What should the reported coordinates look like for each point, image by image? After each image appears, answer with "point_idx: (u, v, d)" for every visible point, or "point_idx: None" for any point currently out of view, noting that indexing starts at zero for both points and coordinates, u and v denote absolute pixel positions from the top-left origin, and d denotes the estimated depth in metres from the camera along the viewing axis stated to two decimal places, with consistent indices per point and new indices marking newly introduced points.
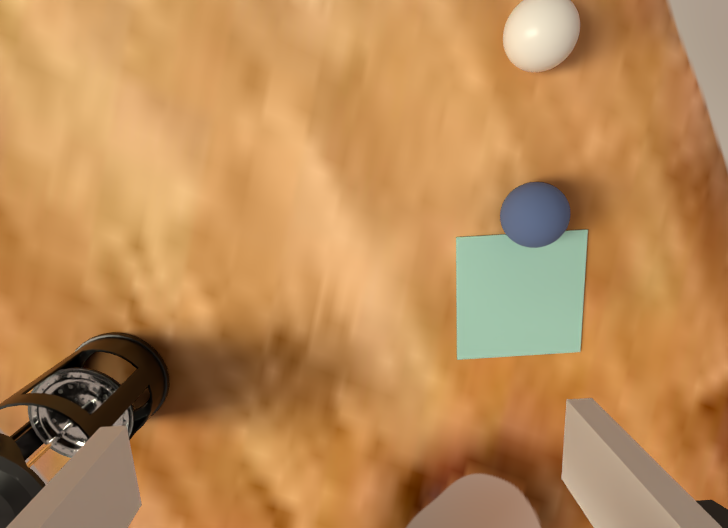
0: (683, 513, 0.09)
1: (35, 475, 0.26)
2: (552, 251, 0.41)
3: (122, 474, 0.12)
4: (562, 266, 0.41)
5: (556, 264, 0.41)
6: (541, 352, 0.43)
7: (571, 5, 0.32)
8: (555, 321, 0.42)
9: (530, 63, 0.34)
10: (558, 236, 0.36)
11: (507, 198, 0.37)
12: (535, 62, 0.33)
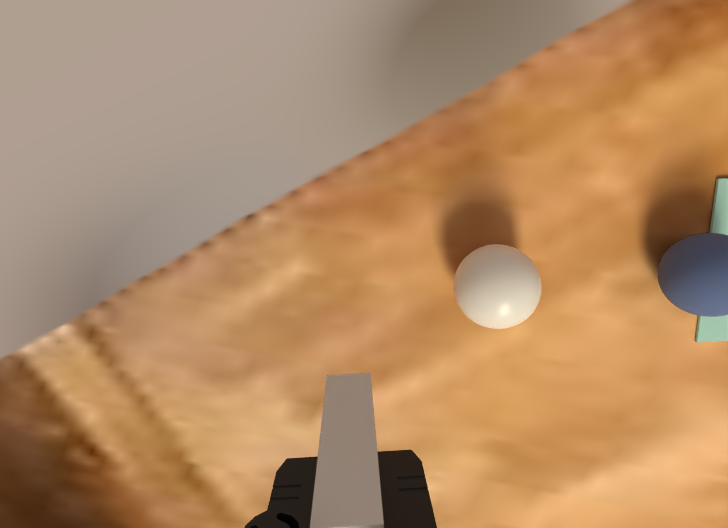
0: (358, 455, 0.11)
1: None
2: None
3: None
4: None
5: None
6: None
7: (486, 275, 0.27)
8: None
9: None
10: None
11: (680, 308, 0.30)
12: (538, 302, 0.28)
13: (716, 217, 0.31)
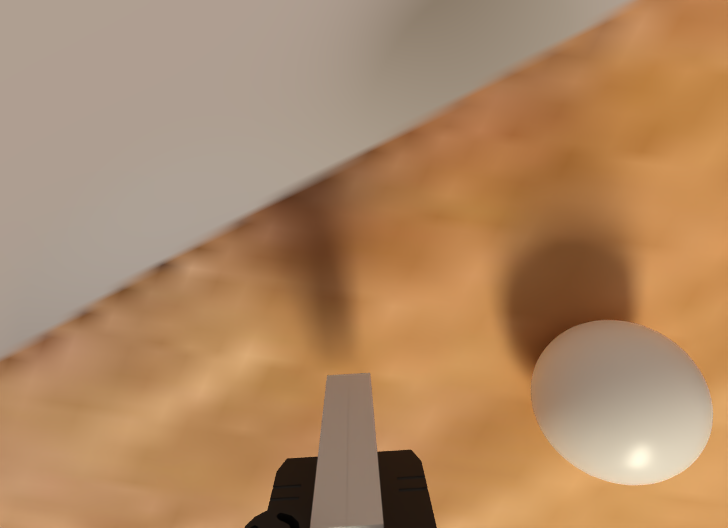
0: (358, 455, 0.11)
1: None
2: None
3: None
4: None
5: None
6: None
7: (615, 394, 0.13)
8: None
9: None
10: None
11: None
12: None
13: None
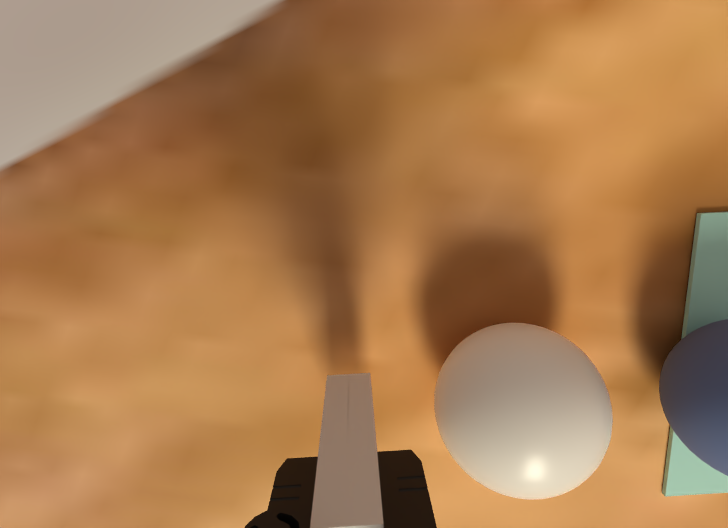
0: (358, 455, 0.11)
1: None
2: None
3: None
4: None
5: None
6: None
7: None
8: None
9: None
10: None
11: None
12: None
13: (697, 284, 0.17)
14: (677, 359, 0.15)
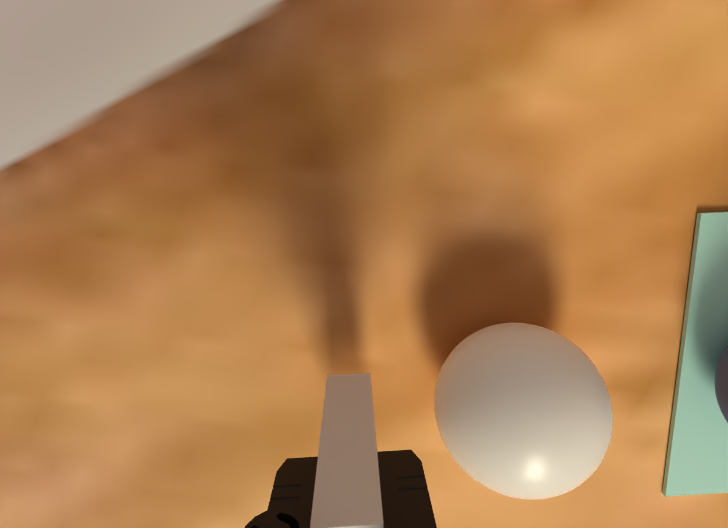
0: (358, 455, 0.11)
1: None
2: None
3: None
4: None
5: None
6: None
7: None
8: None
9: None
10: None
11: None
12: None
13: (697, 284, 0.17)
14: None
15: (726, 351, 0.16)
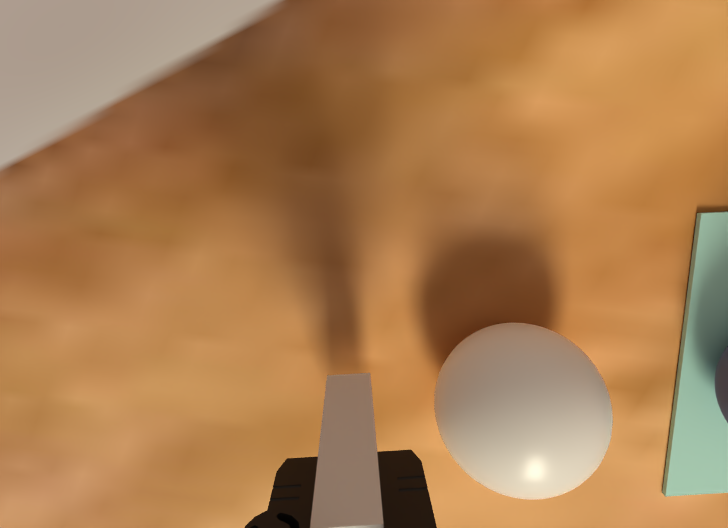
0: (358, 455, 0.11)
1: None
2: None
3: None
4: None
5: None
6: None
7: None
8: None
9: None
10: None
11: None
12: None
13: (697, 284, 0.17)
14: None
15: (726, 351, 0.16)
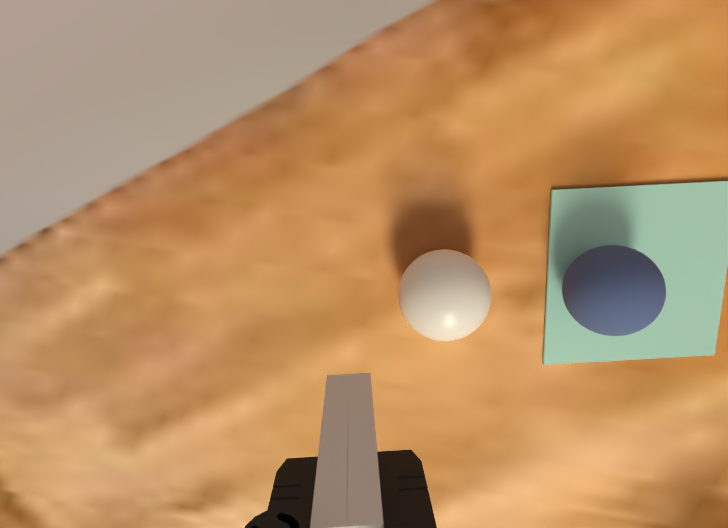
0: (358, 455, 0.11)
1: None
2: (578, 237, 0.29)
3: None
4: (602, 220, 0.29)
5: (597, 230, 0.29)
6: None
7: None
8: (684, 223, 0.29)
9: None
10: None
11: (625, 334, 0.26)
12: None
13: (553, 231, 0.29)
14: (585, 276, 0.26)
15: None
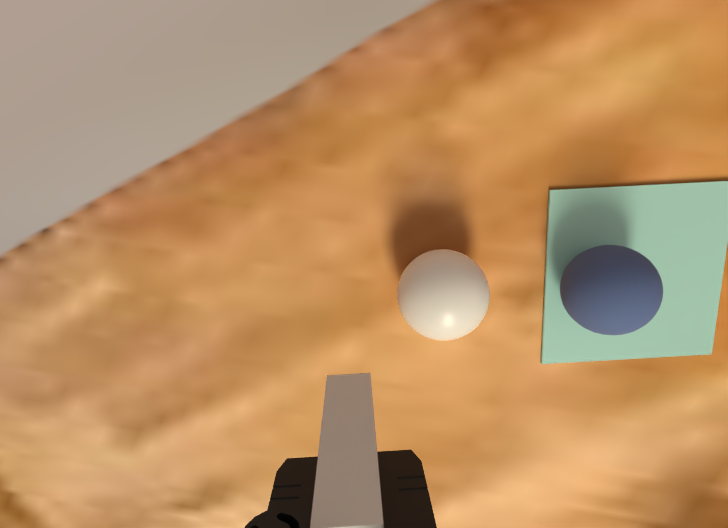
0: (358, 455, 0.11)
1: None
2: (575, 237, 0.29)
3: None
4: (599, 220, 0.29)
5: (595, 230, 0.29)
6: (725, 239, 0.29)
7: None
8: (681, 223, 0.29)
9: None
10: None
11: (622, 333, 0.26)
12: None
13: (551, 231, 0.29)
14: (583, 276, 0.26)
15: (565, 268, 0.28)
